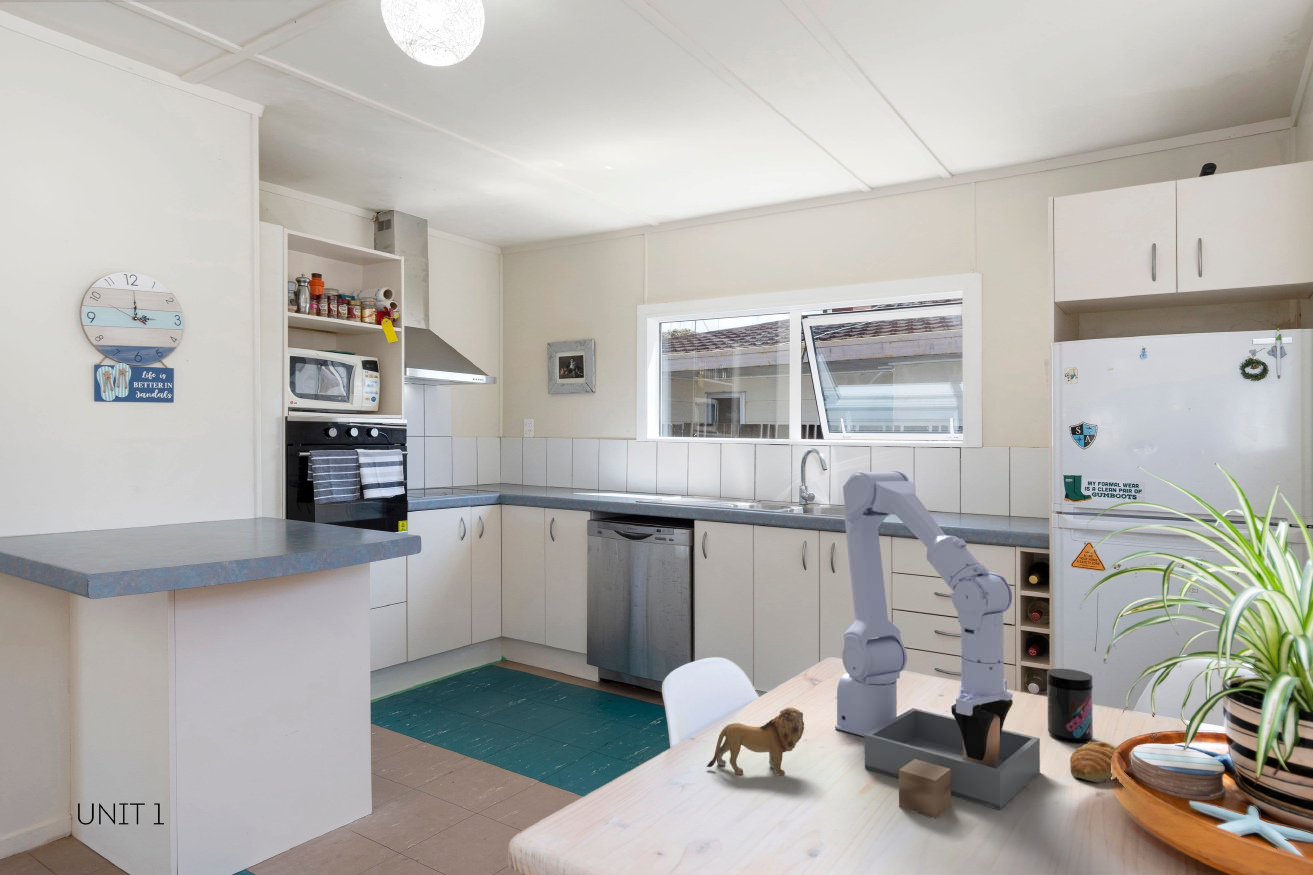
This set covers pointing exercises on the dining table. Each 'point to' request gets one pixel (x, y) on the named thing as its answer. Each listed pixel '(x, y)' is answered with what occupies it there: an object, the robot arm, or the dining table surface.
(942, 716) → the tote
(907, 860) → the dining table surface
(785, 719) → the lion figurine
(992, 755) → the terracotta cylinder
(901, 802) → the walnut block
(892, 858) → the dining table surface
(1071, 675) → the supplement container
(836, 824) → the dining table surface
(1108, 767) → the pastry
